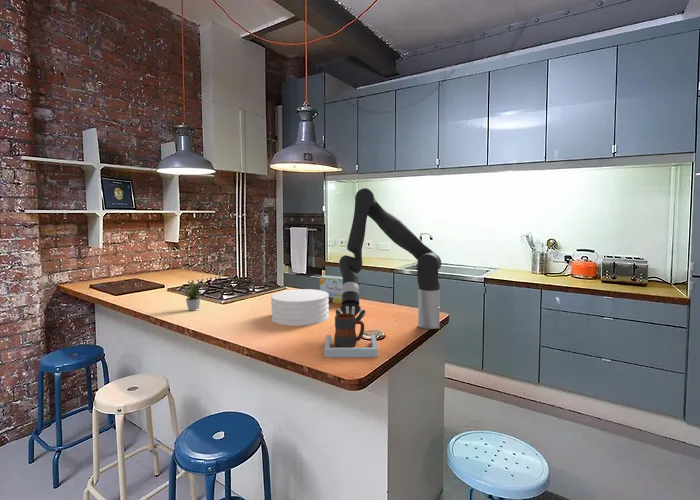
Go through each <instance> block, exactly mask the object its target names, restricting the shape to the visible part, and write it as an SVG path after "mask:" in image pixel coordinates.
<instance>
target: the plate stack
mask: <svg viewBox="0 0 700 500" xmlns="http://www.w3.org/2000/svg"><path fill="white" fill-rule="evenodd" d="M328 297H329V294H328V293H327V292H325V291H321V290H320V289H311V288H303V289H301V288H300V289H289V290H288V289H287V290H283V291H282V290H281V291H278V292H275V293H273V294H271V295H270V299H271V301H270V302H271V303H270V304H271V320H272V322H273V323H275V324H278V325H283V326H291V327H292V326H293V327H295V326H296V327H297V326H298V327H301V326H310V325H316V324H320V323H323V322H326V321H327V320H328V319H329V317H330V315H329V313H330V311H329V306H330V305H329V304H330V303H328V302H329V299H328Z"/></svg>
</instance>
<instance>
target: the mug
mask: <svg viewBox="0 0 700 500" xmlns="http://www.w3.org/2000/svg"><path fill="white" fill-rule="evenodd" d="M357 325H360V330H359V332H358V333H359V334H358V335H357V333H356V326H357ZM334 328H335V332H334V337H333V338H334V339H333V340H334V341H333V342H334V345H335V346H336V348H355V346H356V344H357V342H359V341H360V340H362V338H363V336H364V333H365V324H364V322H363V321H362V320H360V321H357V320H356V316H355V315H354V314H350V313H342V312H341V314H337V315H336V314H335V316H334Z"/></svg>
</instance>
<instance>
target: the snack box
mask: <svg viewBox="0 0 700 500" xmlns="http://www.w3.org/2000/svg"><path fill="white" fill-rule="evenodd" d="M342 287H343V278H342V276H336V275H325V274H324V275H321V276H319V290H321V291H325V292H327V293H328V294H329V297H328V299H329V302H328V304H334V305H342Z"/></svg>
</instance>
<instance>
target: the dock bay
mask: <svg viewBox="0 0 700 500" xmlns="http://www.w3.org/2000/svg"><path fill="white" fill-rule="evenodd" d="M370 337H371V339H370V343H371V347H351V348H339V347H331V345H332V335H330V334H328V335H326V340H325V344H324V358H378V356H379V354H378V353H379V351H378V350H379V347H378V342H377V338H376V334H371V336H370Z"/></svg>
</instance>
